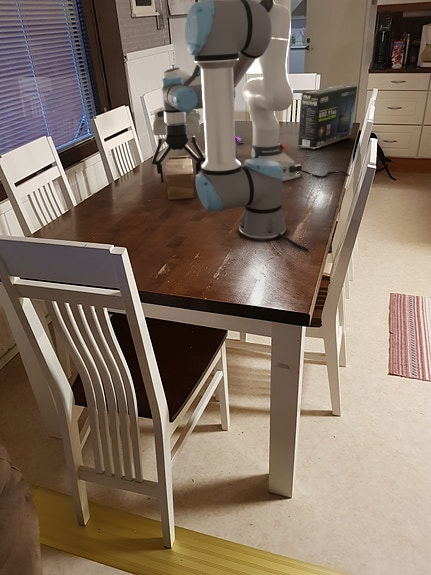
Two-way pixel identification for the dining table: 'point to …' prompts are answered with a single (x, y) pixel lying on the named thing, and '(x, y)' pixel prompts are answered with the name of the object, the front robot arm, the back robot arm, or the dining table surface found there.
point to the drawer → (179, 157)
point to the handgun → (239, 140)
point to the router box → (326, 115)
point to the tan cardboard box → (179, 179)
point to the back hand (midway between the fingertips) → (177, 144)
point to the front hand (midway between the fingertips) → (180, 180)
